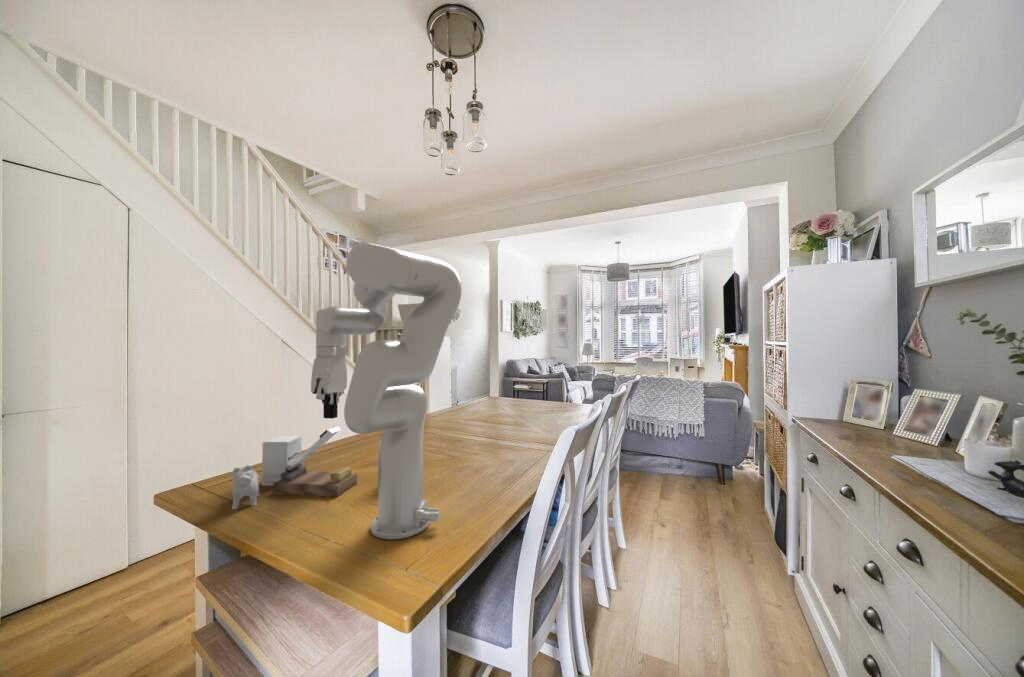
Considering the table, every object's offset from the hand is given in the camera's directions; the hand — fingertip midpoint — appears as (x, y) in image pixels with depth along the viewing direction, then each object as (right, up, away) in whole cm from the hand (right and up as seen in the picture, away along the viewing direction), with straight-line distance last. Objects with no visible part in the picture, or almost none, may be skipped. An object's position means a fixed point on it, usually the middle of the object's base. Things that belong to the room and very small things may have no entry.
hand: (330, 417), depth 101 cm
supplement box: (-17, -21, +6) cm, 27 cm away
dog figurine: (-17, -20, -9) cm, 28 cm away
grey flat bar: (-5, -10, 0) cm, 11 cm away
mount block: (-4, -20, 0) cm, 20 cm away
